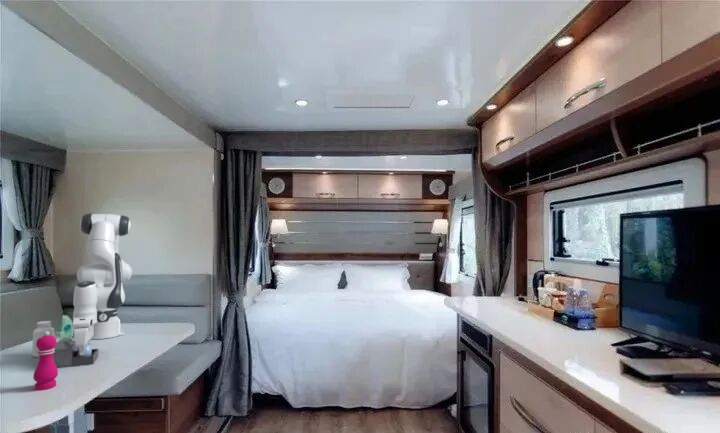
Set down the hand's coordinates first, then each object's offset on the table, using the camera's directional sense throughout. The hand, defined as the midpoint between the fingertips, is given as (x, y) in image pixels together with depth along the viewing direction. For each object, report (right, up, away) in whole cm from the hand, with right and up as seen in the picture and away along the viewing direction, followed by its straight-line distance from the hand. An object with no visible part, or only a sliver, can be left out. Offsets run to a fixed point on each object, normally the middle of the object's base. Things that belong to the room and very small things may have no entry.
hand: (84, 351), depth 189 cm
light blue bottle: (0, -4, 0) cm, 4 cm away
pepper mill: (+6, -3, -31) cm, 32 cm away
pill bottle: (-25, -5, +10) cm, 28 cm away
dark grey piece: (-3, -4, -2) cm, 5 cm away
